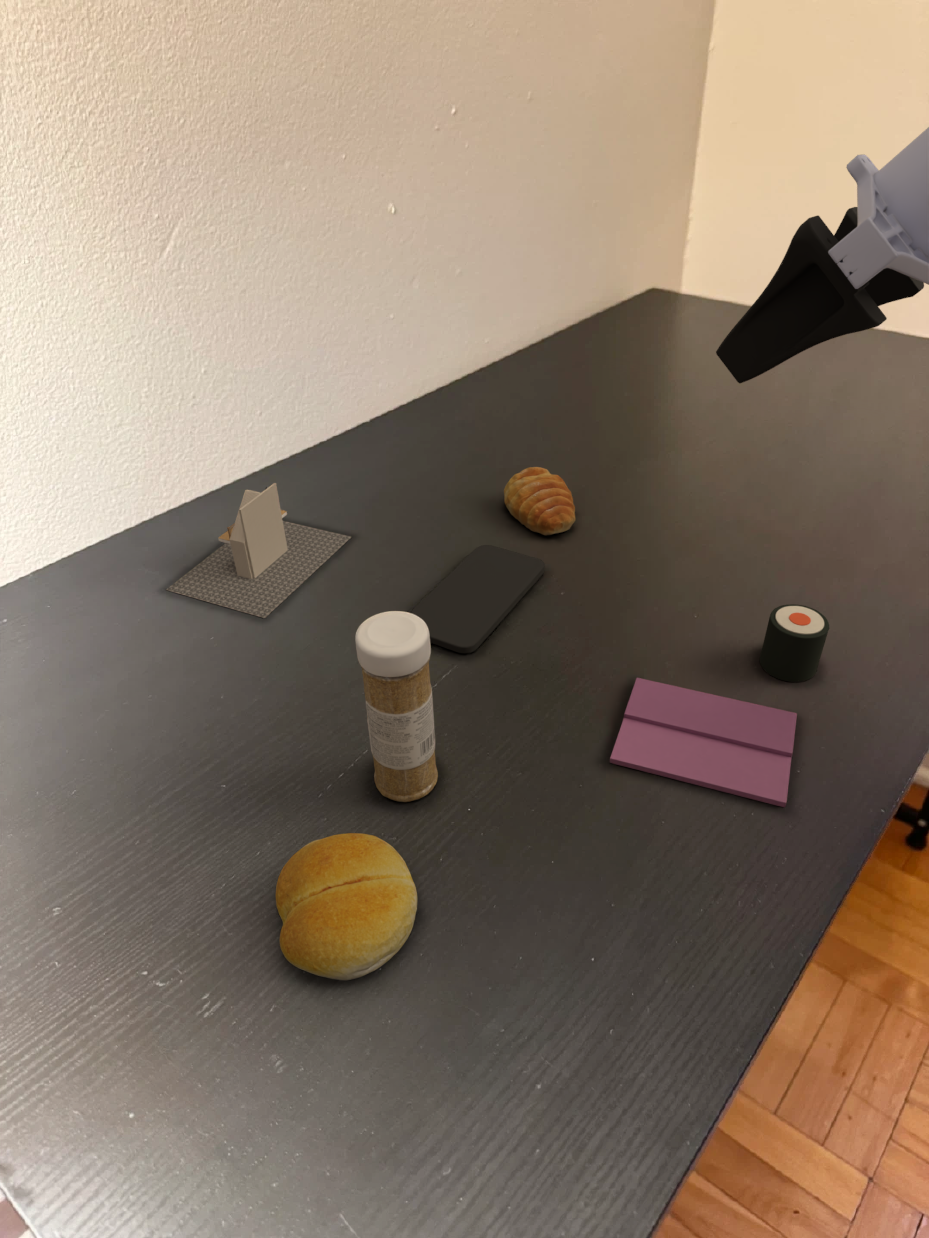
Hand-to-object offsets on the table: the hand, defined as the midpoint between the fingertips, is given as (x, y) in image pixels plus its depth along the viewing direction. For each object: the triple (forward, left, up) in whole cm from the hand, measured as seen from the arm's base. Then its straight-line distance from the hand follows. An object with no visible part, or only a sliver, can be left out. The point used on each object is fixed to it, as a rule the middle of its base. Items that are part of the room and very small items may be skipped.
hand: (752, 352), depth 45 cm
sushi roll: (-7, -11, -28) cm, 31 cm away
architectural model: (+42, -10, -29) cm, 52 cm away
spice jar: (+17, +11, -29) cm, 35 cm away
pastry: (+19, -28, -29) cm, 44 cm away
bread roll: (+16, +22, -29) cm, 40 cm away
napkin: (-2, 0, -28) cm, 29 cm away
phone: (+20, -11, -28) cm, 37 cm away
